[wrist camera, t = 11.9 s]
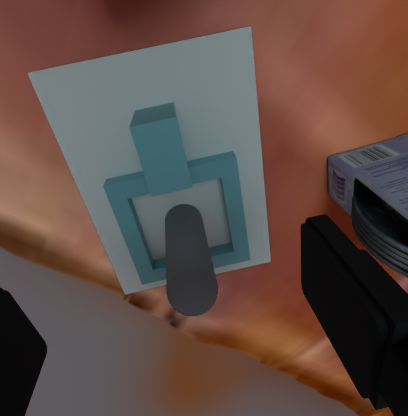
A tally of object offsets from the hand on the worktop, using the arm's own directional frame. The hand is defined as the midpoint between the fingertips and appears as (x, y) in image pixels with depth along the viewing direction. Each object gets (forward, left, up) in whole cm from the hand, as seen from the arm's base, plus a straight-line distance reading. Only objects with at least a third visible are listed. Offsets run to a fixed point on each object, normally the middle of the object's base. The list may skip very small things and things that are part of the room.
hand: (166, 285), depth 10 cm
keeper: (+5, 0, -18) cm, 19 cm away
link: (+5, 0, -17) cm, 18 cm away
